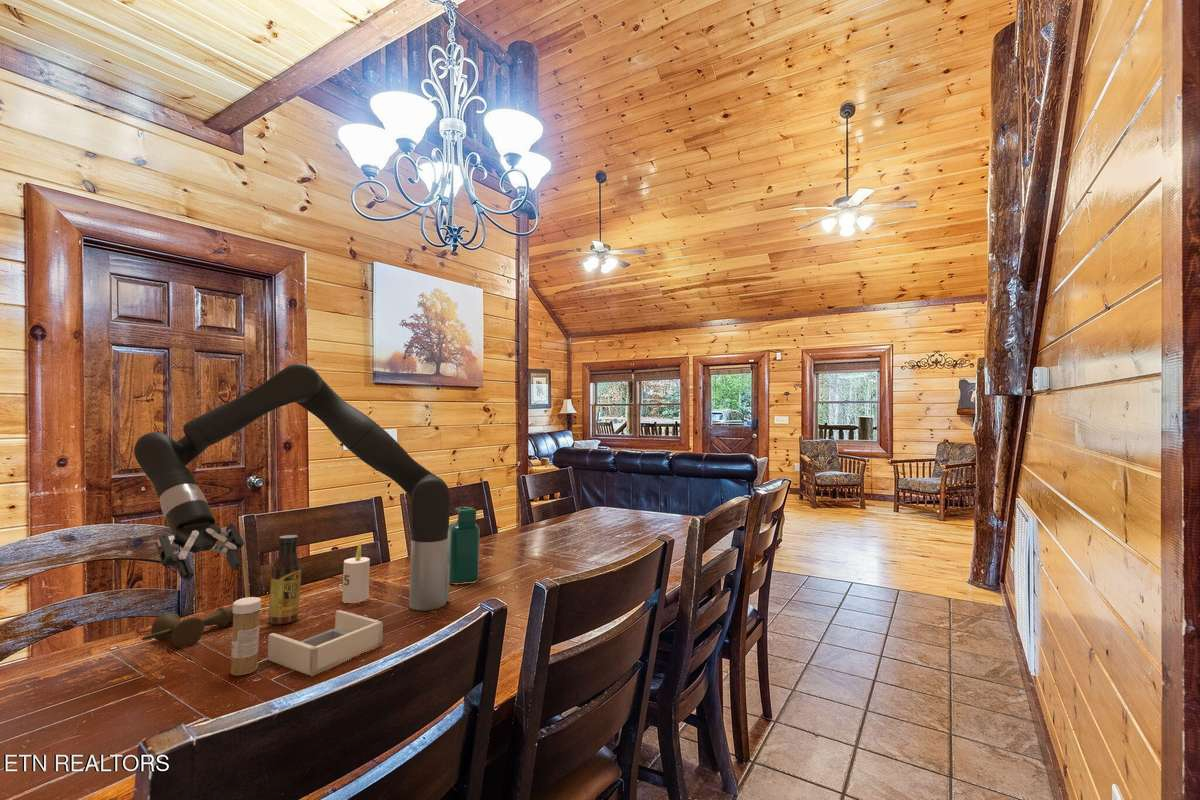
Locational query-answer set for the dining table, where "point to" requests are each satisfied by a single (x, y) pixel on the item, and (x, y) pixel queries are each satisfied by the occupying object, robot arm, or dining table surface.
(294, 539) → the sauce bottle
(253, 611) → the sprinkles bottle
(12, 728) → the dining table surface
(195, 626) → the kendama
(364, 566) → the candle
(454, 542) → the green bottle
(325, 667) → the caddy
